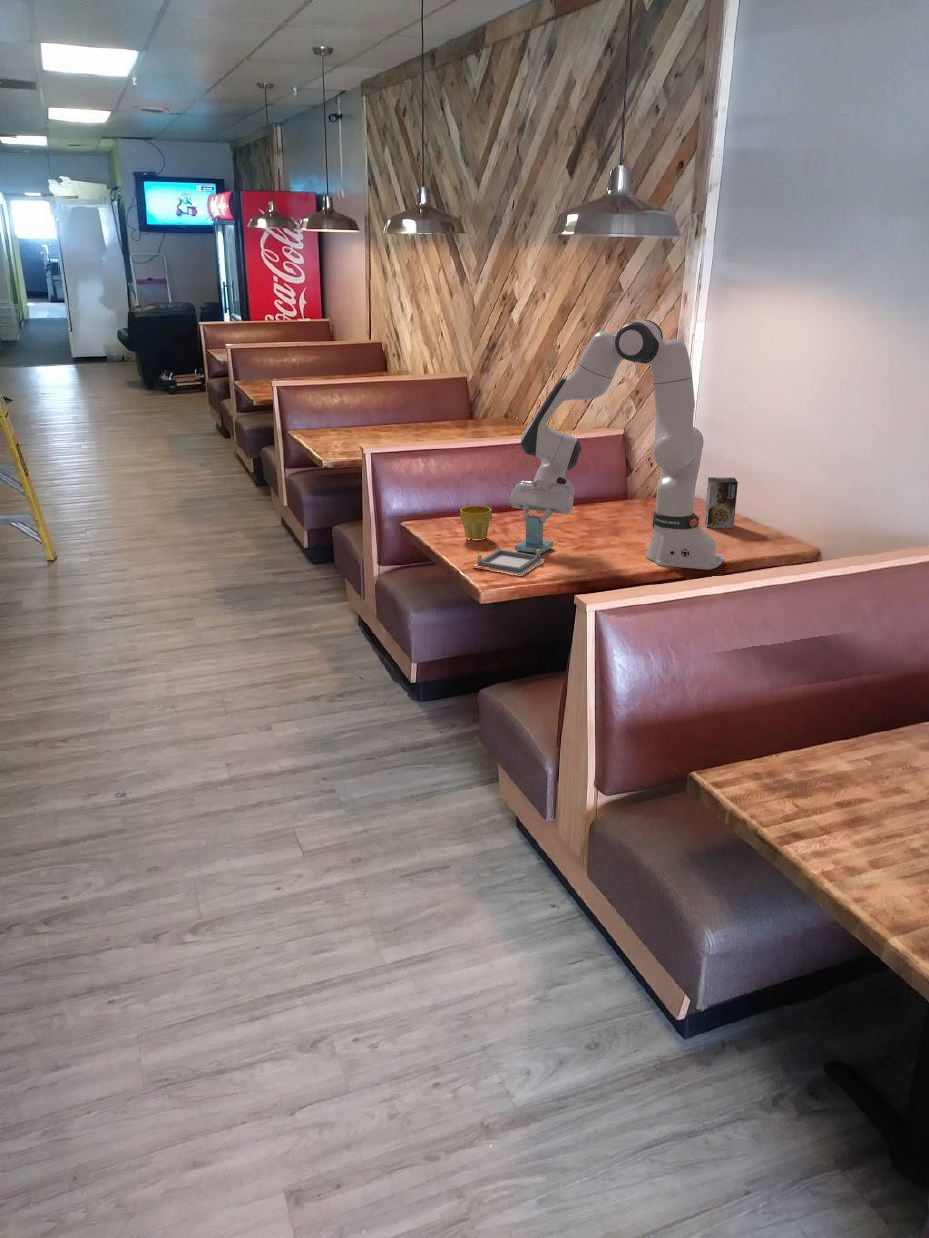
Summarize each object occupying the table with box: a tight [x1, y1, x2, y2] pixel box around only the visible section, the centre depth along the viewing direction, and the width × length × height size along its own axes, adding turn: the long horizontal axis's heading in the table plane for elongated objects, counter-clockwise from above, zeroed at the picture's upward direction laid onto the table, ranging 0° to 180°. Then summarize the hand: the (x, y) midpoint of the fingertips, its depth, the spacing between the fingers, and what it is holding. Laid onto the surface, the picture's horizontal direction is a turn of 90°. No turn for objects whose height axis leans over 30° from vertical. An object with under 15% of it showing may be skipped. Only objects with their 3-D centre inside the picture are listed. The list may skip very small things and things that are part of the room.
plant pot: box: [459, 505, 493, 539], centre depth 295 cm, size 10×10×10 cm
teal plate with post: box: [514, 514, 554, 555], centre depth 282 cm, size 9×9×10 cm
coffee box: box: [703, 477, 739, 529], centre depth 306 cm, size 9×6×16 cm
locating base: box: [473, 548, 546, 576], centre depth 270 cm, size 16×16×4 cm
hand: (533, 521), depth 280 cm, fingers closed on teal plate with post, 4 cm apart
